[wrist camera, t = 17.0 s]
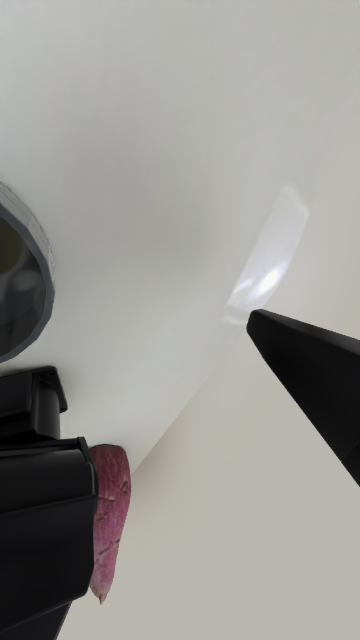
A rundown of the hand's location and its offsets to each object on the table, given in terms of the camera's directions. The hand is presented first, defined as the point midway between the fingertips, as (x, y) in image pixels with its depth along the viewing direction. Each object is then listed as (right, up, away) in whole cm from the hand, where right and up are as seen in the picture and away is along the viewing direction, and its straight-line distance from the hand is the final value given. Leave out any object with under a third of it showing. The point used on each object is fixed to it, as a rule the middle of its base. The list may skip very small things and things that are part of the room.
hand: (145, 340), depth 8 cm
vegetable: (-12, -21, +26) cm, 36 cm away
